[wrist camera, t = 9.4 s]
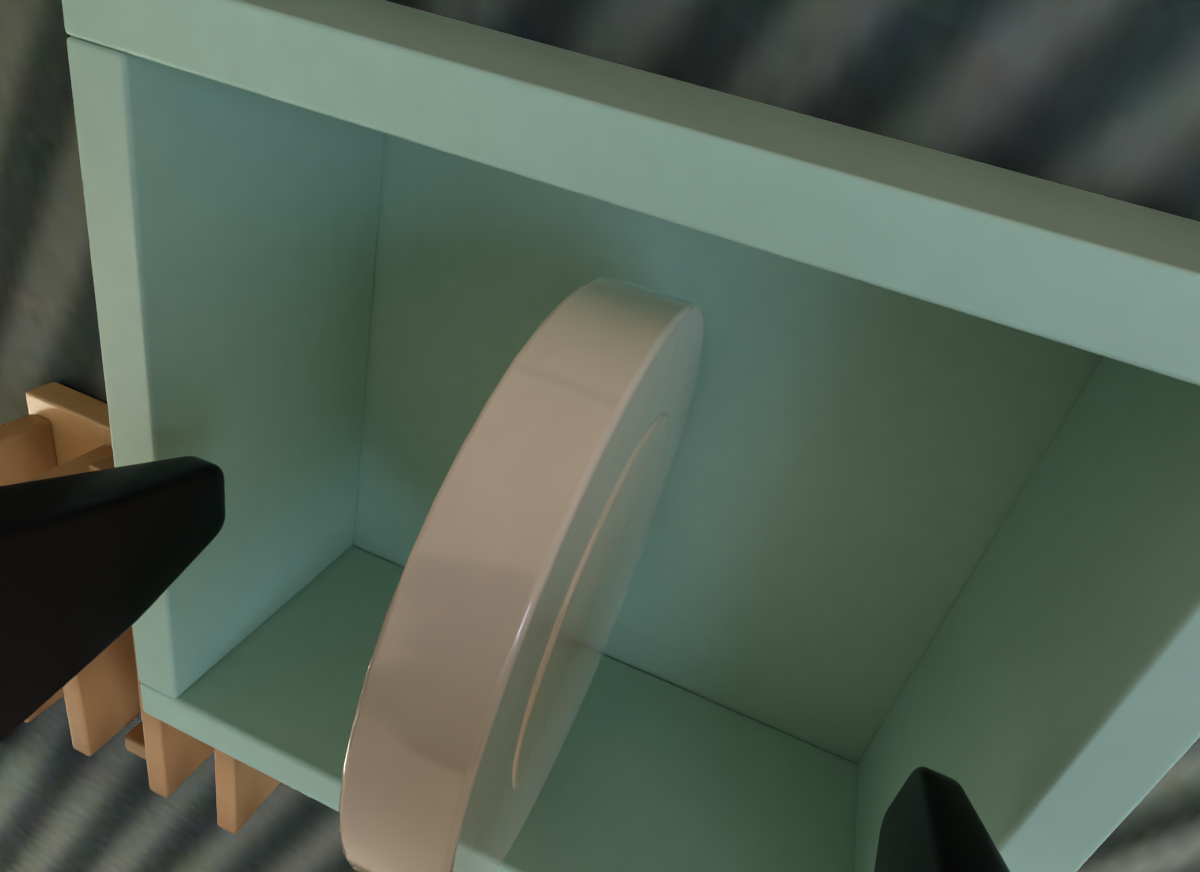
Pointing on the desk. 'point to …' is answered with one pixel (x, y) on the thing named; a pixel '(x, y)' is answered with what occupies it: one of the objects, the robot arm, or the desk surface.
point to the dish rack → (110, 682)
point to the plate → (517, 583)
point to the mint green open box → (708, 443)
